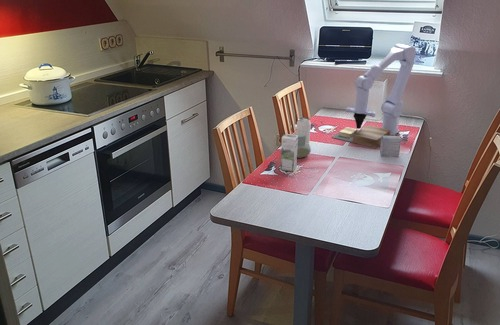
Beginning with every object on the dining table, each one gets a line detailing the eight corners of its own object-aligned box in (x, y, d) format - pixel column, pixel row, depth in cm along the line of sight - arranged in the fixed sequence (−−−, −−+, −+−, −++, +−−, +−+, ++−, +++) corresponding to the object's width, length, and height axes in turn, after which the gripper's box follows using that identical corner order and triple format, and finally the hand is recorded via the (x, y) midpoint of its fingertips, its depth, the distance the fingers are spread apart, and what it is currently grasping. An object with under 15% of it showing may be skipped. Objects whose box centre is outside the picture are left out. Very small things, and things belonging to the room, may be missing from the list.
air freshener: (288, 160, 200) (289, 138, 196) (283, 153, 208) (284, 132, 204) (312, 158, 202) (314, 137, 198) (306, 151, 210) (307, 130, 206)
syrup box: (296, 166, 193) (298, 134, 188) (293, 172, 188) (295, 139, 182) (283, 165, 195) (285, 133, 189) (280, 170, 190) (281, 137, 184)
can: (311, 142, 221) (312, 118, 216) (306, 146, 215) (308, 122, 211) (298, 139, 223) (299, 116, 219) (294, 144, 218) (295, 120, 213)
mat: (346, 128, 240) (346, 127, 240) (365, 132, 234) (365, 131, 234) (331, 137, 226) (331, 137, 226) (351, 142, 221) (351, 141, 221)
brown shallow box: (366, 132, 234) (367, 125, 233) (389, 137, 228) (390, 129, 226) (352, 142, 221) (353, 134, 219) (376, 148, 214) (377, 140, 213)
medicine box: (397, 153, 208) (399, 135, 205) (399, 157, 204) (401, 139, 201) (379, 153, 209) (381, 135, 205) (380, 156, 205) (383, 138, 201)
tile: (357, 129, 231) (357, 133, 232) (346, 127, 235) (346, 130, 235) (350, 134, 225) (349, 137, 225) (339, 131, 228) (338, 135, 229)
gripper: (344, 100, 222) (341, 127, 227) (372, 105, 214) (369, 133, 219) (350, 97, 227) (347, 123, 232) (378, 102, 219) (375, 129, 225)
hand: (358, 128), depth 226 cm, fingers closed
